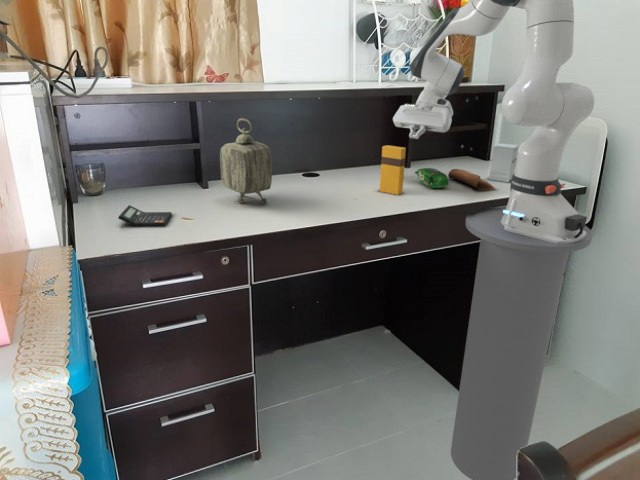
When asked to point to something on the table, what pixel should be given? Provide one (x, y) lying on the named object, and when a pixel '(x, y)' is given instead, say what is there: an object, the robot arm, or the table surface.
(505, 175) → the white packaging box
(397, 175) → the block
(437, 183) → the snack package
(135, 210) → the calculator
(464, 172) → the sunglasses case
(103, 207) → the table surface
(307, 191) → the table surface
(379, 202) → the table surface
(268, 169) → the tabletop clock
